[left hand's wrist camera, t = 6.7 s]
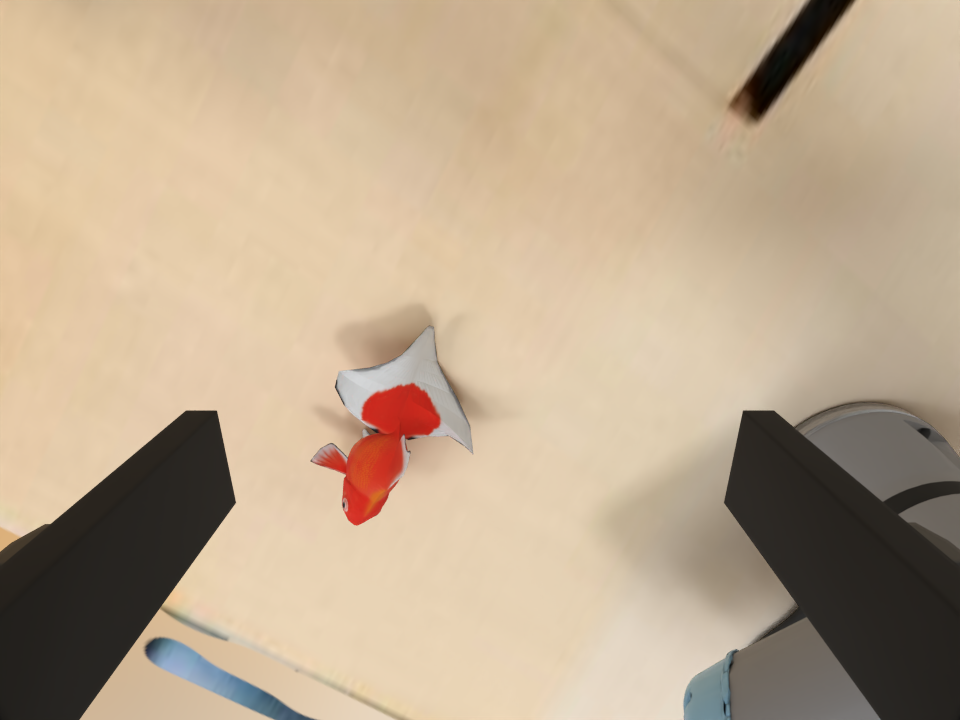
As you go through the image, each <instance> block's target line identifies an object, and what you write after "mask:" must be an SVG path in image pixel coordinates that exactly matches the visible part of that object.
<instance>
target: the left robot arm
mask: <svg viewBox="0 0 960 720" xmlns="http://www.w3.org/2000/svg"><path fill="white" fill-rule="evenodd" d="M235 503H236V501H235V496H234V491H233V486H232V481H231V477H230V472H229V467H228V462H227V457H226V452H225V448H224V443H223V438H222V433H221V428H220V423H219V418H218V414H217V411H185V412H184V413H183V414H182V415H180V416H179V417H178V418H177V419H176V420H174V421H173V422H172V423H171V424H170V425H168V426H167V427H166V428H165V429H164V430H162V431H161V432H160V433H159V434H158V435H156V436H155V437H154V438H153V439H152V440H151V441H149V442H148V443H147V444H146V445H145V446H143V447H142V448H141V449H140V450H139V451H137V452H136V453H135V454H134V455H133V456H131V457H130V458H129V459H128V460H127V461H125V462H124V463H123V464H122V465H121V466H119V467H118V468H117V469H116V470H115V471H113V472H112V473H111V474H110V475H109V476H108V477H106V478H105V479H104V480H103V481H102V482H100V483H99V484H98V485H97V486H96V487H94V488H93V489H92V490H91V491H90V492H88V493H87V494H86V495H85V496H84V497H82V498H81V499H80V500H79V501H78V502H76V503H75V504H74V505H73V506H72V507H70V508H69V509H68V510H67V511H66V512H65V513H63V514H62V515H61V516H60V517H59V518H57V519H56V520H55V521H54V522H53V523H51V524H45V525H43V526H41V527H39V528H37V529H36V530H34V531H32V532H30V533H28V534H27V535H25V536H23V537H21V538H19V539H17V540H16V541H14V542H12V543H11V544H9V545H8V546H7V547H6V548H4V549H3V550H2V551H1V552H0V720H79V719H80V718H81V717H82V715H83V714H84V712H85V711H86V710H87V708H88V707H89V705H90V704H91V703H92V701H93V700H94V699H95V697H96V696H97V694H98V693H99V692H100V690H101V689H102V687H103V686H104V685H105V683H106V682H107V681H108V679H109V678H110V676H111V675H112V674H113V672H114V671H115V669H116V668H117V667H118V665H119V664H120V663H121V661H122V660H123V658H124V657H125V656H126V654H127V653H128V651H129V650H130V649H131V647H132V646H133V645H134V643H135V642H136V640H137V639H138V638H139V636H140V635H141V633H142V632H143V631H144V629H145V628H146V626H147V625H148V624H149V622H150V621H151V620H152V618H153V617H154V615H155V614H156V613H157V611H158V610H159V609H160V607H161V606H162V604H163V603H164V602H165V600H166V599H167V597H168V596H169V595H170V593H171V592H172V591H173V589H174V588H175V586H176V585H177V584H178V582H179V581H180V579H181V578H182V577H183V575H184V574H185V573H186V571H187V570H188V568H189V567H190V566H191V564H192V563H193V561H194V560H195V559H196V557H197V556H198V555H199V553H200V552H201V550H202V549H203V548H204V546H205V545H206V543H207V542H208V541H209V539H210V538H211V537H212V535H213V534H214V532H215V531H216V530H217V528H218V527H219V525H220V524H221V523H222V521H223V520H224V518H225V517H226V516H227V514H228V513H229V512H230V510H231V509H232V507H233V506H234V505H235ZM724 503H725V505H726V506H727V507H728V509H729V510H730V512H731V513H732V514H733V516H734V517H735V518H736V520H737V521H738V523H739V524H740V525H741V527H742V528H743V530H744V531H745V532H746V534H747V535H748V537H749V538H750V539H751V541H752V542H753V543H754V545H755V546H756V548H757V549H758V550H759V552H760V553H761V555H762V556H763V557H764V559H765V560H766V561H767V563H768V564H769V566H770V567H771V568H772V570H773V571H774V573H775V574H776V575H777V577H778V578H779V579H780V581H781V582H782V584H783V585H784V586H785V588H786V589H787V591H788V592H789V593H790V595H791V596H792V597H793V599H794V600H795V602H796V603H797V604H798V606H799V607H798V609H797V610H796V611H795V612H794V613H793V614H792V615H791V616H790V617H789V618H788V619H786V620H785V621H784V622H783V623H781V624H780V625H779V626H777V627H776V628H775V629H773V630H772V631H771V632H769V633H768V634H767V635H765V636H764V637H763V638H762V639H761V640H760V641H758V642H756V643H754V644H752V645H750V646H748V647H746V648H744V649H742V650H740V651H739V650H737V649H735V650H732V651H730V652H729V653H728V654H727V655H726V658H725V659H723V660H721V661H719V662H718V663H716V664H714V665H713V666H711V667H709V668H708V669H706V670H704V671H702V672H701V673H699V674H697V675H696V676H695V677H694V678H693V679H692V680H691V681H690V683H689V684H688V686H687V688H686V691H685V696H684V720H960V457H959V456H958V455H957V453H956V452H955V451H954V450H953V448H952V447H951V446H950V445H949V443H948V442H947V441H946V440H945V439H944V437H943V436H942V435H941V434H940V433H939V432H938V431H937V430H936V429H935V428H934V427H932V426H931V425H930V424H928V423H927V422H925V421H923V420H921V419H920V418H918V417H916V416H915V415H913V414H911V413H909V412H908V411H906V410H903V409H901V408H899V407H896V406H892V405H888V404H883V403H855V404H849V405H844V406H840V407H836V408H833V409H830V410H827V411H825V412H822V413H820V414H818V415H816V416H814V417H812V418H810V419H808V420H807V421H805V422H803V423H802V424H800V425H799V426H797V427H796V428H794V427H793V426H792V425H790V424H789V423H788V422H787V421H786V420H784V419H783V418H782V417H781V416H780V415H778V414H777V413H776V412H775V411H743V414H742V418H741V423H740V428H739V433H738V438H737V443H736V448H735V452H734V457H733V462H732V467H731V472H730V477H729V481H728V486H727V491H726V496H725V501H724Z"/></svg>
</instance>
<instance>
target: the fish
mask: <svg viewBox="0 0 960 720" xmlns="http://www.w3.org/2000/svg"><path fill="white" fill-rule="evenodd" d="M335 388H336V390H337V392H338V394H339V396H340V398H341V400H342V402H343V404H344V405H345V407H346V408H347V409H348V410H349V411H350V412H351V413H352V414H353V415H354V416H355V417H356V418H358V419H359V420H360V421H361V422H363V423H364V424H365V425H367V426H368V427H369V428H371V429H372V430H373V431H375V432H376V433H378V434H372V435H370V434H369V433H368V432H367V431H366V430H365V429H363V431H362V433H363V438H362V439H361V440H359V441H358V442H357V443H356V444H355V445H354V446H353V448H352V449H351V451H350V454H349V456H348V458H347V457H346V455H345V454H344V453H343V452H342V451H341V450H340V449H339V448H338V447H337V446H336V445H334V444H333V443H330V444H328V445H326V446H324V447H322V448H321V449H320V450H319V451H318V452H317V453H316V454H315V456H314V457H313V458H312V460H311V462H313V463H315V464H317V465H320V466H323V467H326V468H329V469H333V470H336V471H338V472H341V473H343V474H346V477H345V478H344V484H343V498H342V506H343V510H344V512H345V514H346V516H347V518H348V520H349V521H350V522H351V523H352V524H354V525H356V526H357V525H359V524H362V523H364V522H365V521H367V520H369V519H370V518H372V517H374V516H376V515H377V514H379V512H380V511H381V509H382V506H383V505H384V504H385V502H386V500H387V498H388V495H389V492H390V491H391V490H392V489H393V488H394V487H395V485H396V484H397V483H398V481H399V479H400V478H401V477H402V476H403V475H404V473H405V471H406V468H407V466H408V461H409V457H410V451H407V446H406V442H405V439H408V440H411V439H416V438H421V437H426V436H450V437H451V438H453V439H454V440H456V441H458V442H459V443H461V444H462V445H464V446H465V447H466V448H467V449H468V450H469V451H470V452H471V453H472V454H473V447H472V439H471V430H470V425H469V422H468V420H467V418H466V416H465V414H464V412H463V410H462V407H461V405H460V403H459V401H458V399H457V397H456V395H455V393H454V392H453V390H452V388H451V386H450V385H449V383H448V381H447V379H446V378H445V376H444V374H443V372H442V370H441V368H440V366H439V364H438V362H437V354H436V346H435V339H434V327H432V326H428V327H427V328H426V329H425V330H424V331H423V332H422V334H421V335H420V336H419V337H418V338H417V339H416V340H415V341H414V342H413V343H412V344H411V345H410V347H409V348H408V349H407V350H406V351H405V352H404V353H403V354H402V355H401V356H399V357H397V358H395V359H393V360H391V361H389V362H387V363H384V364H381V365H377V366H374V367H370V368H363V369H354V370H346V371H339V373H338V377H337V381H336V385H335Z"/></svg>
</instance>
